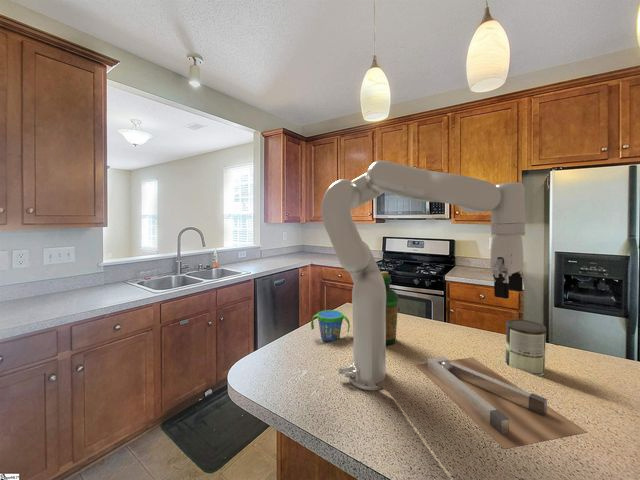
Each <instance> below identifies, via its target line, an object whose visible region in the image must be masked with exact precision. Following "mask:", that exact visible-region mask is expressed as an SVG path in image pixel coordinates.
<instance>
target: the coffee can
mask: <svg viewBox="0 0 640 480" xmlns="http://www.w3.org/2000/svg"><path fill="white" fill-rule="evenodd" d="M505 326H506V333H505V336H506V338H505V362H504V363H505V365H506V366H508V367H511V368H514V369H517V370H520V371H523V372H525V373H528V374H531V375H534V376H536V377H542V376H544V375H545V373H546V370H545V367H546V341H547V339H546V337H547V331H548V329H547V326H545V325H544V324H542V323H539V322H536V321H532V320H529V319H528V320H527V319H519V318H514V319H512V318H511V319H508V320H506V322H505Z"/></svg>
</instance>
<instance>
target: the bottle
mask: <svg viewBox="0 0 640 480" xmlns="http://www.w3.org/2000/svg"><path fill="white" fill-rule="evenodd" d="M380 272H381V274H382V276H383V279H384V282H385V287H386V347H387V346H392V345H395V344H396V341H397V325H398V310H399V295H398V293H397V292H396V291H395V290H393V289H391V288H390V286H391V283H392V279H391V275H390V274H389V271H385V270H384V271H381V270H380Z"/></svg>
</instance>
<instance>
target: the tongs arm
mask: <svg viewBox="0 0 640 480" xmlns="http://www.w3.org/2000/svg"><path fill="white" fill-rule="evenodd" d="M441 365H442V366H443V367H444V368H445V369H447V370H448V371H449V372H450V373H452V374H453V375H454V376H456V377H458V378H460V379H463V380H465V381H467V382H469V383H472V384H474V385H476V386H478V387H481V388H483V389H485V390H487V391H490V392H492V393H494V394H496V395H499V396H501V397H503V398H505V399H508V400H510V401H512V402H514V403H517V404H519V405H521V406H523V407H526V408H528V409H530V410H532V411H534V412H536V413H539V414H541V415H543V416H544V415H545V414H546V413H547V406H548V399H547V398H545V397H543V396H540V395H538V394H535V393H533V392H532V393H530V392H527V391H525V390H524V389H522V388H521V389H522V390H521V389H518V388H516V387H513V386H511V385H508V384H506V383H503V382H501V381H498V380H496V379H493V378H491V377H488V376H486V375H484V374H481V373H479V372H476V371H474V370H471V369H469V368H466V367H464V366H461V365H459V364H456V363H454V362H451V363H449V362H447V361H442V362H441ZM523 390H524V391H523Z"/></svg>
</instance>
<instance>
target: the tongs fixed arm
mask: <svg viewBox="0 0 640 480" xmlns="http://www.w3.org/2000/svg"><path fill="white" fill-rule="evenodd" d="M449 360H450V359H448V358H447V357H445V356H441V357H433V358H427V363H428V369H429V370H430V371H431V372H432V373H433V374H434V375H435V376H437V377H438V378H439V379H440V380H441V381H442V382H443V383H444V384H445V385H447V386H448V387H449V388H450V389H451V390H452V391H453V392H454V393H456V394H457V395H458V396H459V397H460V398H461V399H462V400H463V401H465V402H466V403H467V404H468V405H469V406H470V407H471V408H472V409H473V410H475V411H476V412H477V413H478V414H479V415H480V416H481V417H482V418H484V419H485V420H486V421H487V422H488V423H489V424H490V425H491V426H492V427H493V428H494V429H495V430H496V431H498V432H499V433H500V434H505V433H509V418H508V417H507V416H505V415H504V414H503V413H502V412H500V411H499V410H498V409H497V410H496V409H495V408H494V407H493V406H491V405H490V404H489V403H488V402H486V401H485V400H484V399H483V398H481V397H480V396H479V395H478V394H476V393H475V392H474V391H473V390H471V389H470V388H469V387H468V386H466V385H465V384H464V383H463V382H462V381H460V380H459V379H458V378H457V377H455V376H454V375H453V374H452V373H450V372H449V371H448V370H447V369H445V368H444V367H443V366H442V365H441V362H442V361H447V362H449Z"/></svg>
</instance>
